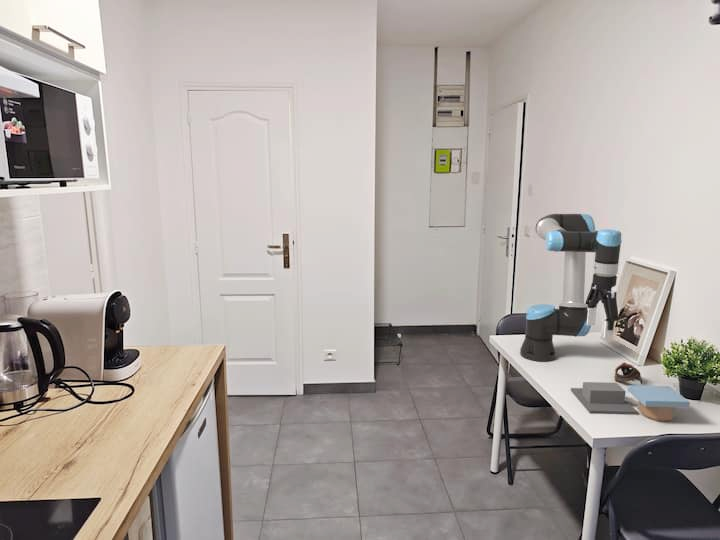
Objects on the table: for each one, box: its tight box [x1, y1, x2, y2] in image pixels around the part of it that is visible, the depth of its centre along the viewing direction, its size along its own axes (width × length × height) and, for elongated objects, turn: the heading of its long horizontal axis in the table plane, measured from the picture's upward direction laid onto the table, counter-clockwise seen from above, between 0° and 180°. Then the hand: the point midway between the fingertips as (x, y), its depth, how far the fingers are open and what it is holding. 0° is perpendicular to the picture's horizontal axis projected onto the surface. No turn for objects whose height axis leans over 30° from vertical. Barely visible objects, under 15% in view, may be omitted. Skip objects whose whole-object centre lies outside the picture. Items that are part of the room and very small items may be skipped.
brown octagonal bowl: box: [637, 400, 677, 422], centre depth 165 cm, size 10×10×6 cm
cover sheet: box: [627, 384, 691, 408], centre depth 165 cm, size 12×14×2 cm
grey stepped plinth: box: [570, 381, 639, 415], centre depth 175 cm, size 18×16×6 cm
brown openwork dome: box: [613, 362, 643, 385], centre depth 193 cm, size 12×10×8 cm
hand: (598, 331), depth 174 cm, fingers open, 13 cm apart
